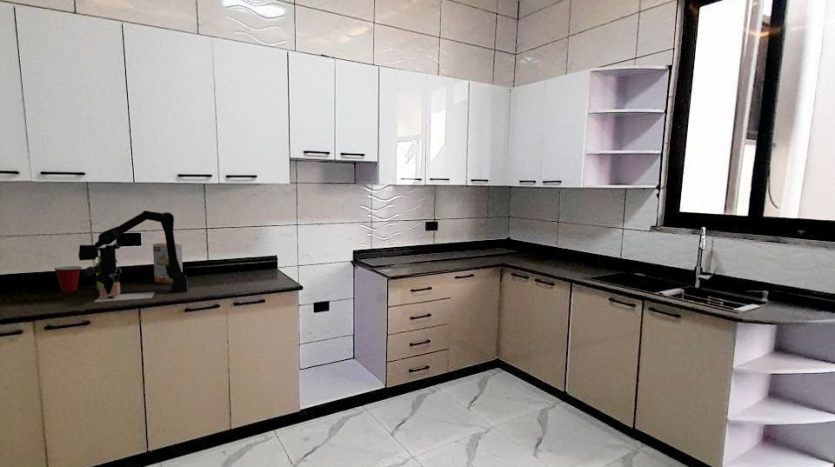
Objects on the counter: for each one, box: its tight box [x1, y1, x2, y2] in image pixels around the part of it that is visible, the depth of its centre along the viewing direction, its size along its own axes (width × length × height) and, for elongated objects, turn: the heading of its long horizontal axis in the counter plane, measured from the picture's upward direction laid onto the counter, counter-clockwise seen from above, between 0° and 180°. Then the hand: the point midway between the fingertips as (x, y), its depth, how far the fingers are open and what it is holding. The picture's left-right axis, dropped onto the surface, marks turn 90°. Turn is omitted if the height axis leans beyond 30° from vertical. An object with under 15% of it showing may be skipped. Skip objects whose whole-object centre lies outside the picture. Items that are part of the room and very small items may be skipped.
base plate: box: [94, 291, 156, 303], centre depth 204 cm, size 22×11×1 cm, turn 113°
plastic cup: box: [53, 265, 83, 293], centre depth 215 cm, size 11×11×12 cm
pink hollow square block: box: [98, 281, 121, 297], centre depth 201 cm, size 7×6×5 cm
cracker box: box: [152, 242, 184, 285], centre depth 235 cm, size 14×6×21 cm, turn 72°
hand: (110, 292), depth 201 cm, fingers closed on pink hollow square block, 6 cm apart
